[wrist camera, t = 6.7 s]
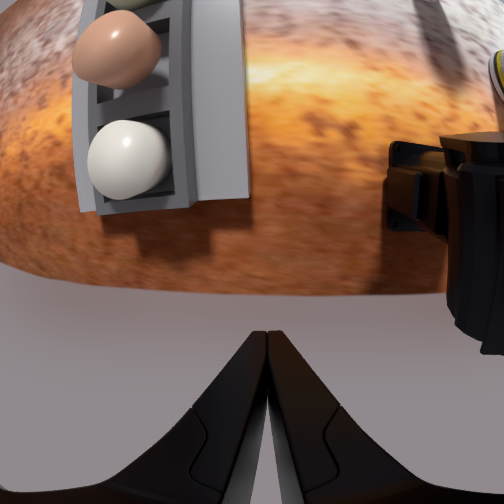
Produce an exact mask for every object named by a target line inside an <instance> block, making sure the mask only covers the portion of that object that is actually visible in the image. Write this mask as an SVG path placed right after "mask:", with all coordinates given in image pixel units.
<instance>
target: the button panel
mask: <svg viewBox="0 0 504 504" xmlns="http://www.w3.org/2000/svg"><path fill="white" fill-rule="evenodd" d="M117 10H118V9H117V8H115V7H114V6H113V5H111V4H110V3H109V2H107V1H106V0H84V4H83V8H82V13H81V18H80V23H79V29H78V35H77V41H78V39H79V38H80V36H81V35H82V33H83V32H84V31H85V29H86V28H87V27H88V26H89V25H90V24H91V23H93V22H94V21H95V20H96V19H98V18H99V17H101V16H103V15H105V14H107V13H110V12H113V11H117ZM131 12H132V13H134V14H135V15H136V16H138V17H139V18H140V19H141V20H142V21H143V22H144V23H145V24H147V25H148V26H149V27H150V28H151V29H152V30H153V31H154V32H155V33H156V34H157V35H158V36H159V38H160V40H161V44H162V51H161V56H160V59H159V62H158V64H157V65H156V67H155V69H154V70H153V71H152V73H151V74H150V75H149V76H148V77H147V78H146V79H145V80H143V81H142V82H141V83H139V84H137V85H136V86H133V87H131V88H128V89H123V90H116V89H111V88H108V87H105V86H102V85H98V84H95V83H91V82H88V81H84V80H82V79H80V78H79V77H78V76H77V75H76V74H75V72H74V70H73V85H72V139H73V155H74V167H75V177H76V185H77V193H78V200H79V206H80V212H87V211H95V210H96V212H97V216H99V215H108V214H117V213H127V212H138V211H149V210H161V209H174V208H189V207H191V206H192V205H193V204H194V203H196V202H197V201H199V200H215V199H235V198H249V196H250V193H251V181H250V160H249V139H248V119H247V98H246V78H245V58H244V38H243V19H242V0H164V1H162V2H161V3H158V4H154V5H151V6H147V7H144V8H141V9H137V10H134V11H131ZM76 43H77V42H76ZM118 120H128V121H134V122H141V123H146V124H152V125H155V126H157V127H159V128H160V129H161V130H162V131H164V132H165V134H166V135H167V136H168V138H169V140H170V142H171V149H172V165H171V168H170V171H169V173H168V175H167V176H166V178H165V179H164V180H163V181H162V182H161V183H160V184H159V185H158V186H156V187H154V188H152V189H150V190H147V191H145V192H142V193H140V194H137V195H135V196H132V197H130V198H127V199H122V200H116V199H111V198H108V197H106V196H104V195H103V194H101V193H100V192H99V191H98V190H97V189H96V188H95V186H94V185H93V183H92V181H91V179H90V176H89V172H88V167H87V158H88V152H89V148H90V145H91V143H92V141H93V139H94V137H95V136H96V134H97V133H98V132H99V131H100V130H101V129H102V128H103V127H104V126H106V125H107V124H109V123H111V122H114V121H118Z"/></svg>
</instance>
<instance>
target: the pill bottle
mask: <svg viewBox="0 0 504 504" xmlns="http://www.w3.org/2000/svg"><path fill="white" fill-rule="evenodd" d="M489 67H490V73H491V77H492V80H493V83H494V86H495V88H496V90H497V92H498V94H499V96H500V98H501V99H502V100H503V102H504V50H501V51H498V52H495V53H493V54H492V55H491V57H490V60H489Z"/></svg>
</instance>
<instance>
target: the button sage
mask: <svg viewBox="0 0 504 504" xmlns="http://www.w3.org/2000/svg"><path fill="white" fill-rule="evenodd" d="M106 1H107V2H109V3H110V4H111V5H113V6H114V7H115V8H117V9H118V10H126V11H130V12H131V11H134V10H137V9H141V8H144V7H147V6H151V5H154V4H158V3H161V2H162V1H164V0H106Z"/></svg>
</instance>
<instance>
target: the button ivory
mask: <svg viewBox="0 0 504 504" xmlns="http://www.w3.org/2000/svg"><path fill="white" fill-rule="evenodd" d="M171 165H172V149H171V142H170V140H169V138H168V136H167V135H166V134H165V132H164V131H162V130H161V129H160V128H159V127H157V126H155V125H152V124H146V123H141V122H134V121H128V120H118V121H114V122H111V123H109V124H107V125H106V126H104V127H103V128H102V129H101V130H100V131H99V132H98V133H97V134H96V136H95V137H94V139H93V141H92V143H91V145H90V148H89V152H88V158H87V167H88V172H89V176H90V179H91V181H92V183H93V185H94V186H95V188H96V189H97V190H98V191H99V192H100V193H101V194H103V195H104V196H106V197H108V198H111V199H116V200H122V199H127V198H130V197H132V196H135V195H137V194H140V193H142V192H145V191H147V190H150V189H152V188H154V187H156V186H158V185H159V184H160V183H161V182H162V181H163V180H164V179H165V178H166V176H167V175H168V173H169V171H170V168H171Z"/></svg>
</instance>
